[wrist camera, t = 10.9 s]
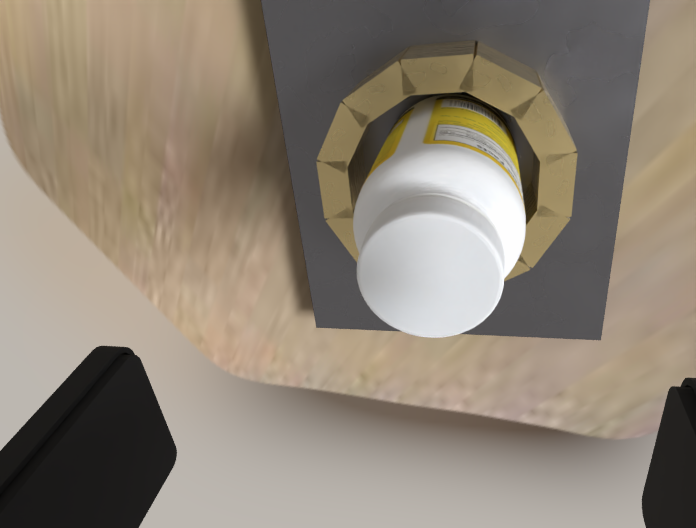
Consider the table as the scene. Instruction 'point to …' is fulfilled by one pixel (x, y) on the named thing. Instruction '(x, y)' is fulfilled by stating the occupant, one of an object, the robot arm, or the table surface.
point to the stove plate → (489, 87)
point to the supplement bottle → (440, 218)
